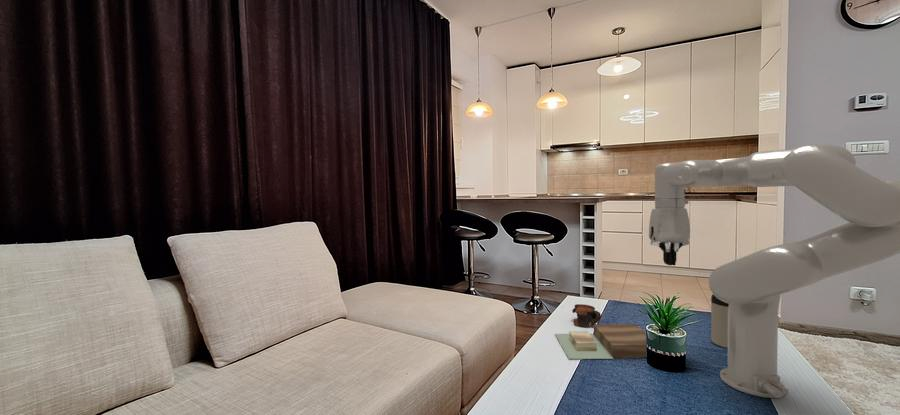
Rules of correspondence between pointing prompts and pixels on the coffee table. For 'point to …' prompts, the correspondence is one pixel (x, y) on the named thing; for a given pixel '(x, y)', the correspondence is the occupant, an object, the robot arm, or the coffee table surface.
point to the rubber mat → (581, 355)
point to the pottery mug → (586, 315)
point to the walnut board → (622, 339)
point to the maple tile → (582, 341)
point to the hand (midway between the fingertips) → (669, 264)
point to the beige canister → (719, 322)
